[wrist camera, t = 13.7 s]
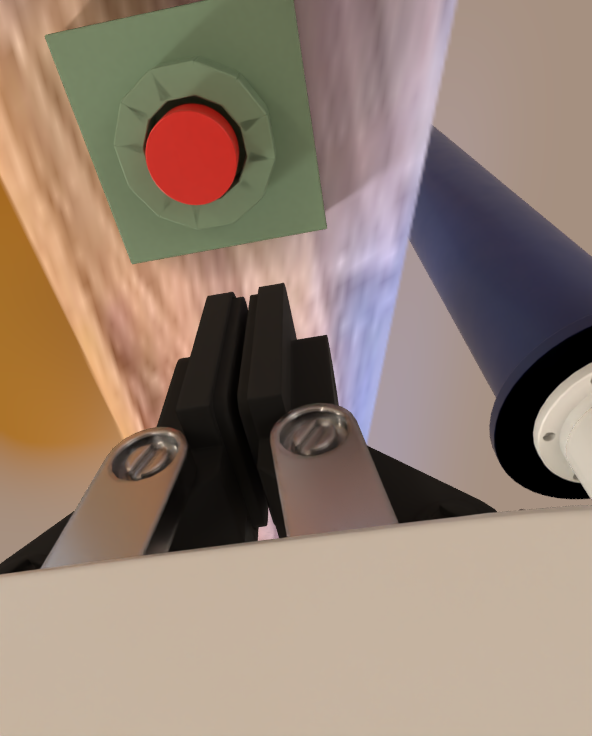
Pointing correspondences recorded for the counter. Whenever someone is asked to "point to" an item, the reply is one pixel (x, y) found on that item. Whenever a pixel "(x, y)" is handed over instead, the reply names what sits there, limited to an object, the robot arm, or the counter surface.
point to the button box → (207, 87)
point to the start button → (192, 154)
